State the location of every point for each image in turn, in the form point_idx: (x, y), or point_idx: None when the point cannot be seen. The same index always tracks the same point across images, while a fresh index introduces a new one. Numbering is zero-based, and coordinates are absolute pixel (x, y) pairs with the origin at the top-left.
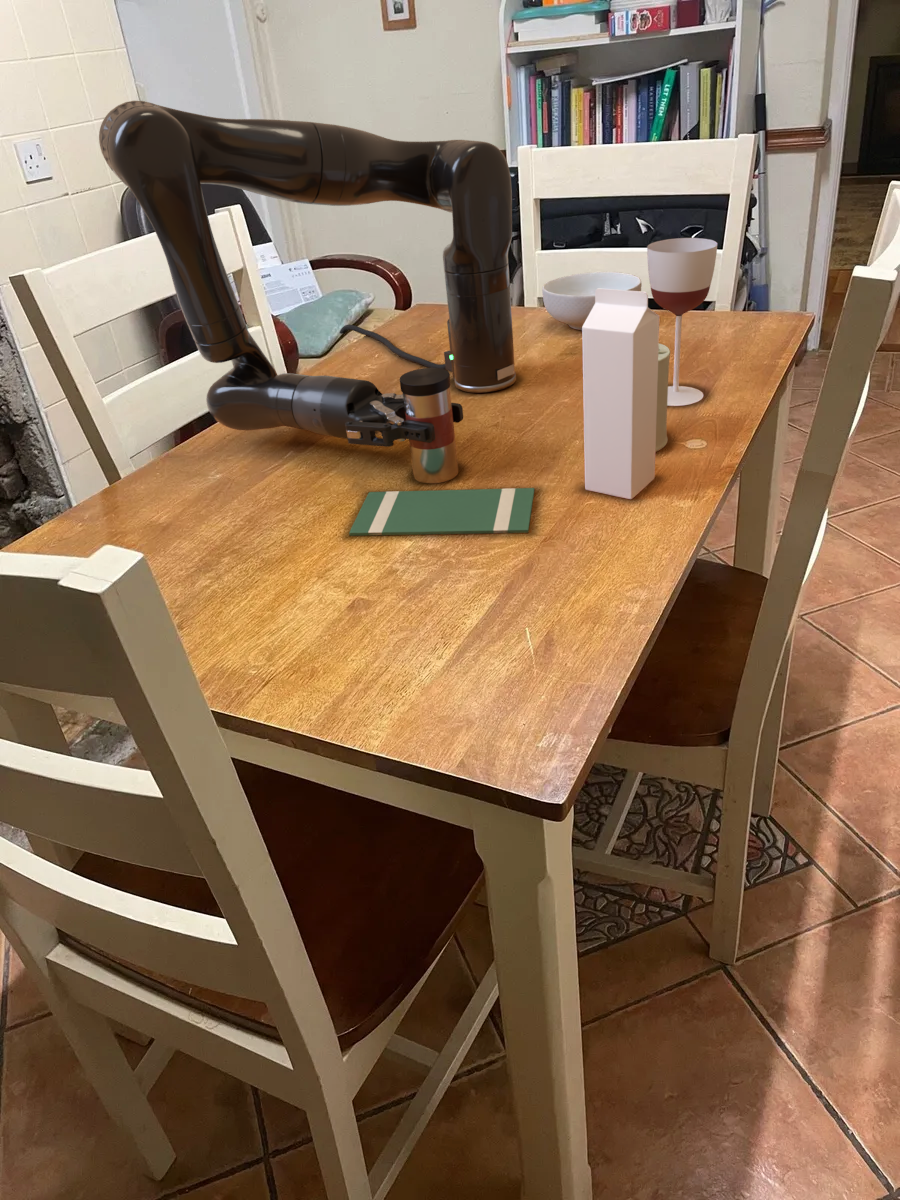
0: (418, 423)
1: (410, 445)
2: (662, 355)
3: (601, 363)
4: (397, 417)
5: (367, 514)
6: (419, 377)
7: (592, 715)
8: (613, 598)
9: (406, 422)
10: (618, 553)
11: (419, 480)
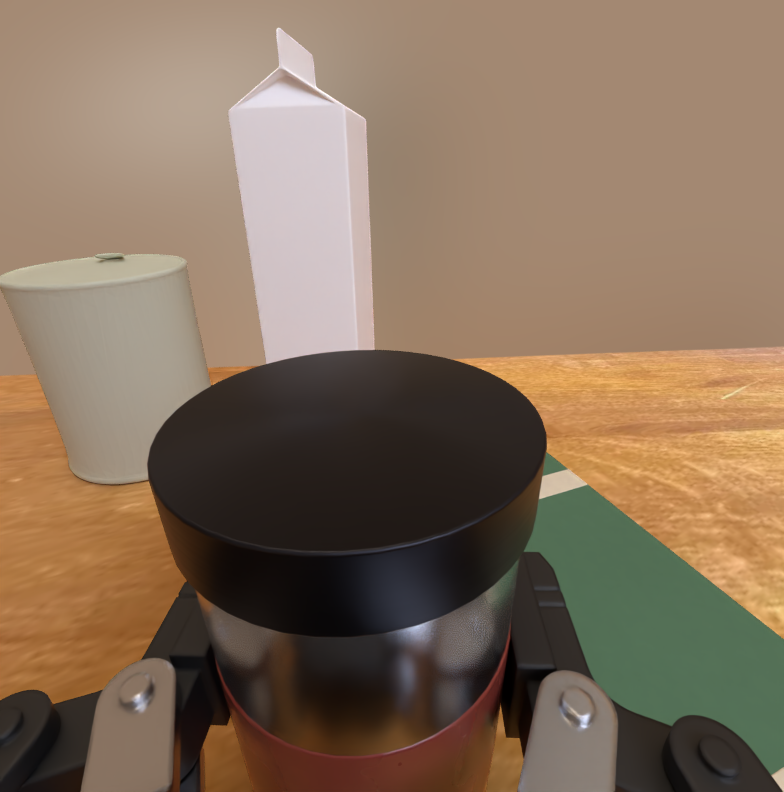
0: (526, 578)
1: None
2: (135, 257)
3: (357, 187)
4: (539, 760)
5: None
6: (382, 425)
7: (746, 351)
8: (597, 371)
9: (550, 655)
10: (513, 385)
11: None
